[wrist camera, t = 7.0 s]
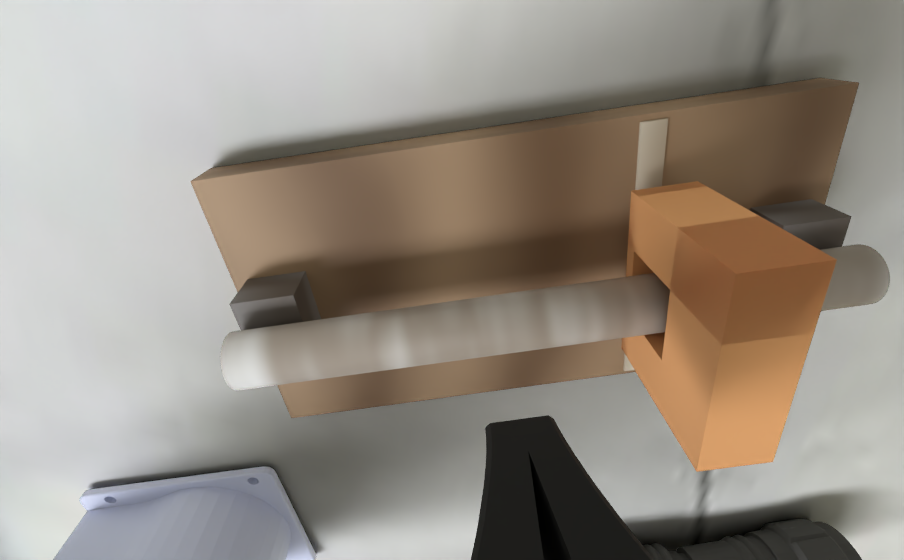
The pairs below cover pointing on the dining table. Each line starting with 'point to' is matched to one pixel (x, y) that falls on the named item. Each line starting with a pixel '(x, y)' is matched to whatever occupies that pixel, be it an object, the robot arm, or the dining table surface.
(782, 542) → the flashlight
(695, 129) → the pipe stand
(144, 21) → the dining table surface
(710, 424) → the collar
